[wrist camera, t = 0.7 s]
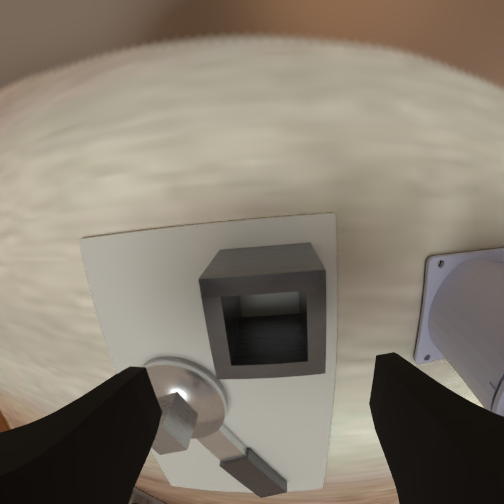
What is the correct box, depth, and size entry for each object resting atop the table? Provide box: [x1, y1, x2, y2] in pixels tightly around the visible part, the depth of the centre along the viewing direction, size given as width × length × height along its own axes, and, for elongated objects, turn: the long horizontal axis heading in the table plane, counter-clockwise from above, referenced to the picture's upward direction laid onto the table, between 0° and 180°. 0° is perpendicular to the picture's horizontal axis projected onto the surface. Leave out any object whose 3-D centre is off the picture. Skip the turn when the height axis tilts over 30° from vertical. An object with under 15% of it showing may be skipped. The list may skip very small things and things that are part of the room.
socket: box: [198, 242, 326, 379], centre depth 14 cm, size 5×5×5 cm
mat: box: [79, 212, 338, 492], centre depth 20 cm, size 16×27×1 cm, turn 6°
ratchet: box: [141, 356, 287, 498], centre depth 18 cm, size 7×18×5 cm, turn 31°
